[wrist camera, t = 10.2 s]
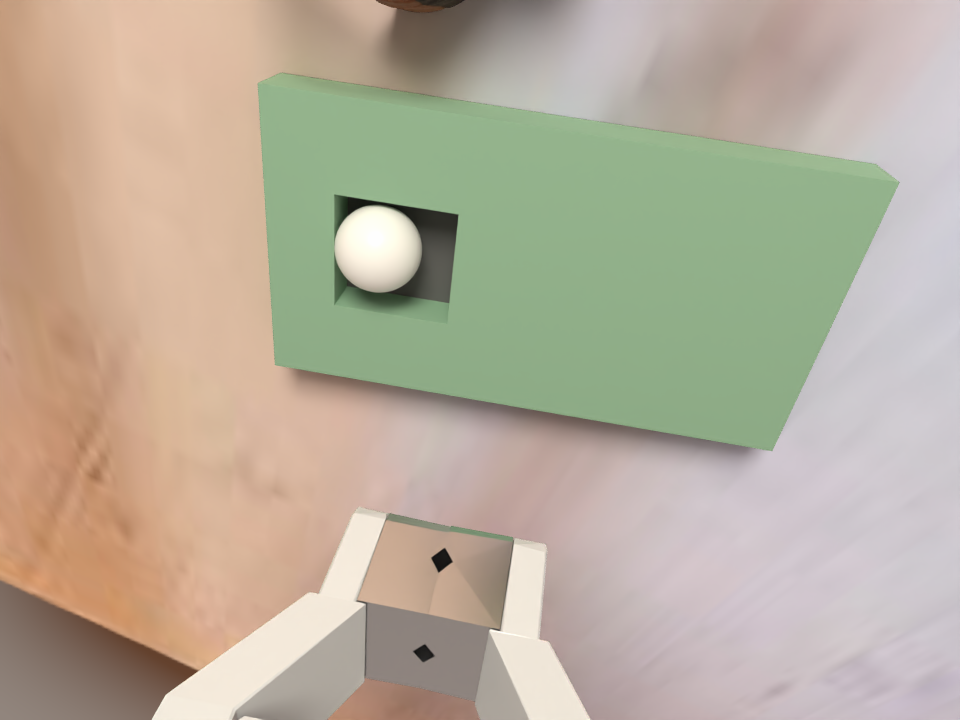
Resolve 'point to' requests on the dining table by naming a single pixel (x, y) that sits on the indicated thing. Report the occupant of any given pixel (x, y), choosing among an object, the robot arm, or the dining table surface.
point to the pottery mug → (420, 4)
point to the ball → (378, 248)
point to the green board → (561, 258)
